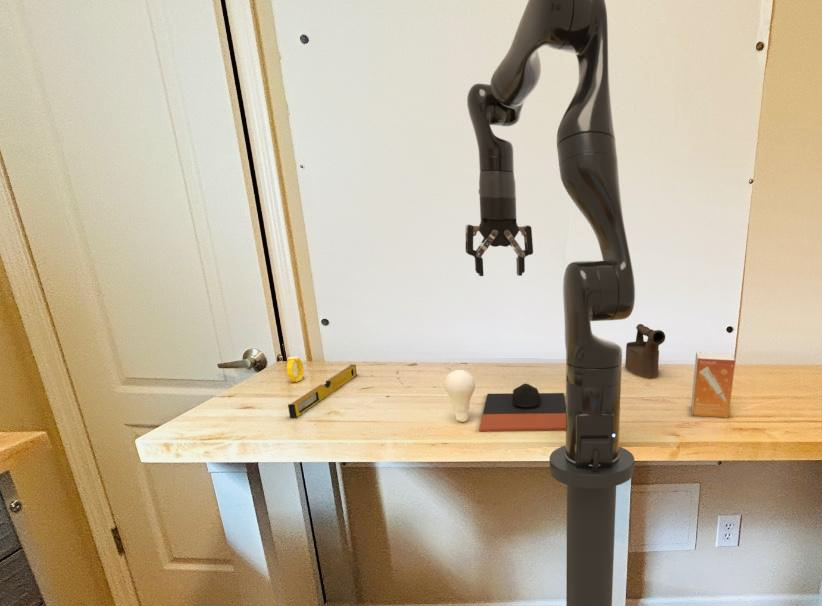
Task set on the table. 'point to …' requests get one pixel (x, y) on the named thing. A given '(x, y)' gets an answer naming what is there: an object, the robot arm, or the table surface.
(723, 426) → the table surface
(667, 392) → the table surface
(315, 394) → the spirit level
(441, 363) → the table surface
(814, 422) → the table surface
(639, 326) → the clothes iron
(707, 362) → the small box
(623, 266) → the robot arm
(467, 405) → the lightbulb
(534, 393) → the gaming mouse
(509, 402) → the desk mat
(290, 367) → the yellow ring
